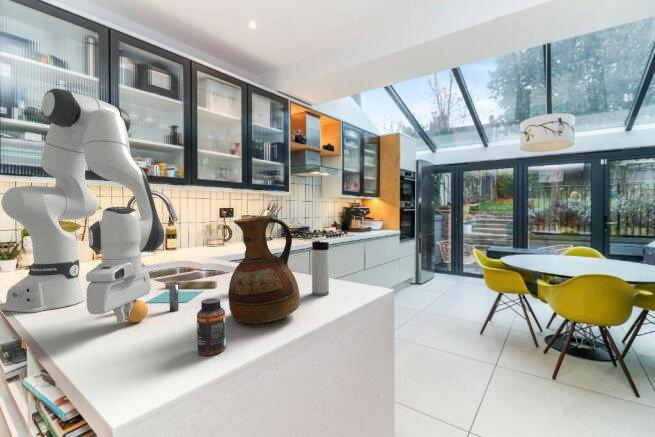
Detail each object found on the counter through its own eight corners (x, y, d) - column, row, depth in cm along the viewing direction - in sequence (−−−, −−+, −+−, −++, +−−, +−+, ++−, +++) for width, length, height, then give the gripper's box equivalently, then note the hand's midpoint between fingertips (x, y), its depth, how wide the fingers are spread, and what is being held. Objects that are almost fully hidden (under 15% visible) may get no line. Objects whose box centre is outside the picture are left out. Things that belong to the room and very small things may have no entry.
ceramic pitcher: (225, 312, 95) (224, 214, 95) (288, 304, 103) (288, 214, 102) (232, 335, 77) (231, 215, 77) (309, 323, 85) (308, 215, 84)
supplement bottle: (231, 346, 71) (230, 297, 71) (213, 358, 65) (213, 305, 65) (209, 343, 73) (209, 295, 73) (191, 354, 67) (190, 302, 67)
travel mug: (308, 295, 114) (308, 240, 113) (316, 290, 120) (316, 239, 119) (324, 297, 111) (324, 241, 111) (331, 292, 118) (331, 239, 117)
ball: (117, 306, 83) (131, 295, 89) (118, 325, 85) (131, 313, 90) (140, 308, 83) (152, 297, 89) (140, 328, 85) (152, 316, 91)
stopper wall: (165, 288, 124) (165, 282, 124) (167, 287, 126) (167, 281, 126) (215, 288, 124) (215, 281, 124) (217, 286, 126) (217, 280, 126)
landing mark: (144, 303, 105) (144, 302, 105) (165, 292, 119) (165, 291, 119) (186, 302, 105) (186, 302, 105) (202, 291, 119) (202, 291, 119)
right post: (168, 311, 96) (167, 286, 95) (172, 309, 98) (171, 284, 98) (176, 311, 96) (175, 285, 95) (180, 309, 98) (179, 284, 98)
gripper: (134, 262, 92) (136, 308, 93) (79, 276, 72) (81, 335, 72) (156, 261, 92) (157, 308, 93) (107, 275, 72) (108, 334, 72)
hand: (123, 320), depth 82 cm, fingers closed
